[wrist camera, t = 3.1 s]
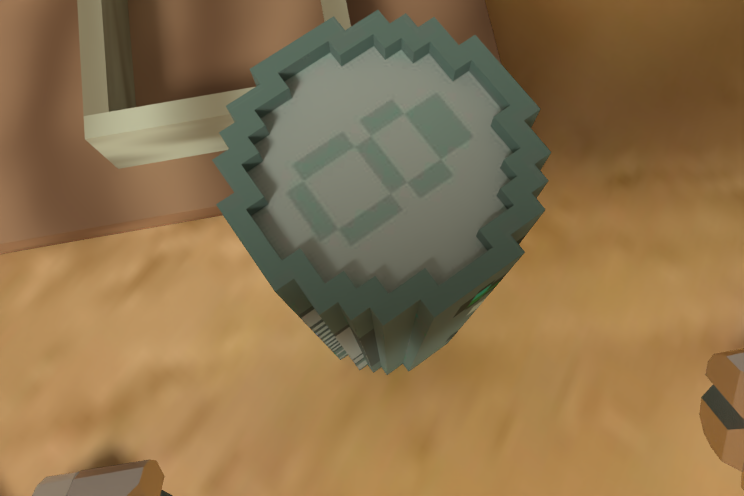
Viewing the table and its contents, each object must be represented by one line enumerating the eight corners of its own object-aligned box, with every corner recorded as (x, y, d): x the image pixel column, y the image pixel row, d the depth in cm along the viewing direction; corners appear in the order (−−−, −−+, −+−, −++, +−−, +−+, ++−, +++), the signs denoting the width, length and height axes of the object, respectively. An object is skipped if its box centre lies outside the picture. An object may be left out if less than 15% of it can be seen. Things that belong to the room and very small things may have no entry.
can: (486, 314, 26) (611, 189, 11) (368, 400, 25) (339, 386, 10) (401, 204, 27) (414, -35, 13) (287, 282, 26) (161, 124, 12)
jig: (438, -149, 32) (445, -230, 28) (518, 163, 27) (541, 119, 23) (-16, -74, 32) (-75, -145, 28) (-13, 256, 27) (-84, 228, 23)
